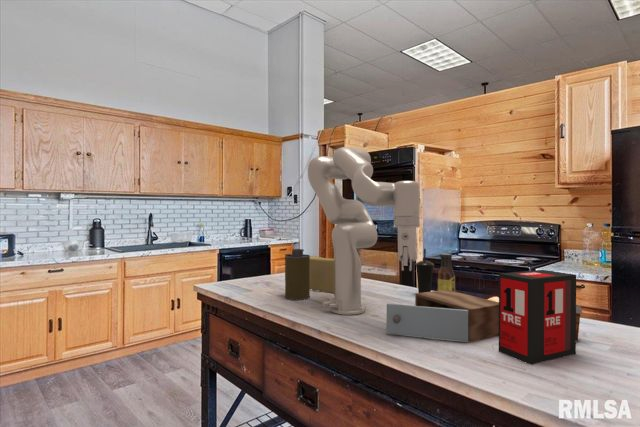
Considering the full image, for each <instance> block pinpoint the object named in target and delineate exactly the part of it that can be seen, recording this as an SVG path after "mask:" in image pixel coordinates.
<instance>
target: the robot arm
mask: <svg viewBox="0 0 640 427" xmlns="http://www.w3.org/2000/svg"><path fill="white" fill-rule="evenodd" d="M333 152H334V153H333V154H332V156H326V155H325V156H321V155H320V156H315V157H313V158H312V159H311V160H310V161H309V163H308V166H307V177H308V178H307V179H308V182H309V184H310V186H311V188H312V190H313V192H314V193H315V195H316V196H317V198H318V201H319V203H320V206H321V207H322V210H323V212H324V215H325V216H326V218H327V221H329V223H330V224H333V225H335V226H334V227H333V229H332V231H331V241H332V242H331V243H332V247H333V257H334V258H333V259H334V267H335V271H334V293H333V296H334V297H331V299H330V300H329V301H328V300H327V301H322V302H321V306H322V307H323V308H326V307H327V308H329V311H330V312H332V313H334V314H336V315H337V314H338V315H344V316H345V315H347V316H349V315H351V316H352V315H353V316H354V315H361V314H363V313H365V312H366V306H364V305H362V299H361V298H362V260H361V257H360V255H359V252H358V251H357V249H366V248H372V247H374V245H375V244H376V243H377V240H378V231H377V228H376V226H375V224H374V222H373V221H374V220H372V217H371V216H370V213H369V212H368V210H367V207H366V206H365V205H364V204H366V205H368V206H371V207H389V208H390V207H392V208H393V228H395V229H396V228H397V257H398V260H399V262H401V276H400V277H401V285H406V286H410V285H411V286H413V284H414V271H413V262H417V259H418V237H417V236H418V235H417V228H420V184H419V183H418V182H417V181H415V180H399V181H396V182H385V181H374V180H373V179H372V176H373V173H374V168H373V164H372V158H371V155H370V154H369V152H368V151H367V150H366V149H363V148H356V147H349V146H343V147H339V148H337V149H336V150H334V151H333ZM330 179H333V180H347V179H349V180H351V188H352V191H353V192H354V195H355V196H357V197H358V198H359V199H360V200H361V201H362V202H363V203H364V204H363V203H362V202H361V201H360V200H357V199H347V198H345V197H344V196H342V193H341V192H340V189H339V188H338V186H337V185H336V184H335V183H334V182H333V181H331V180H330Z"/></svg>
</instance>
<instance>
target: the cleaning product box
mask: <svg viewBox="0 0 640 427" xmlns="http://www.w3.org/2000/svg"><path fill="white" fill-rule="evenodd" d="M498 302H499V336H498V353H501V354H503V355H505V356H508V357H511V358H513V359H515V358H516V360H518V361H520V360H521V361H520V362H523V363H525V362H526V364H527V365H530V364H531V365H535V364H540V363H543V362H548V361H552V360H556V359H561V358H565V357H569V356H574V355H577V341H576V306H577V274H573V273H566V272H559V271H554V270H547V269H535V270H525V271H513V272H502V273H501V272H499V273H498Z"/></svg>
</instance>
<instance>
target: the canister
mask: <svg viewBox="0 0 640 427" xmlns="http://www.w3.org/2000/svg"><path fill="white" fill-rule="evenodd" d="M304 251H305V250H304V249H303V248H293V249H292V253H285V254H284V281H285V283H284V288H285V290H284V292H285V293H284V295H285V296H284V299H286V300H290V301H304V299H305V300H309V299H310V297H311V296H310V290H309V281H310V256H311V255H310V254H304ZM308 298H309V299H308Z"/></svg>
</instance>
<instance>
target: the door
mask: <svg viewBox="0 0 640 427" xmlns="http://www.w3.org/2000/svg"><path fill="white" fill-rule="evenodd" d="M385 321H386V324H385V325H386V334H388V335H399V336H407V337H416V338H427V339H436V340H445V341H446V340H447V341H457V342H465V343H466V342H467V343H468V310H461V309H448V308H436V307H423V306H415V305H410V304H409V305H408V304H407V305H406V304H394V303H386V320H385Z"/></svg>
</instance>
